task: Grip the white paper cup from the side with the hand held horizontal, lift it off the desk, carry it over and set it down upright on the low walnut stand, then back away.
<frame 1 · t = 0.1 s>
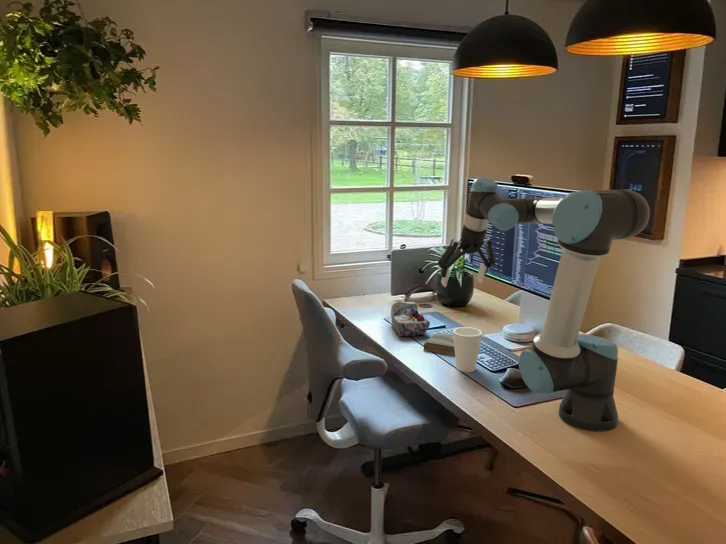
hand: (461, 283, 192), 28 cm above the table, fingers open, 13 cm apart
stand: (446, 347, 211), on the table
foam cup: (465, 369, 192), on the table
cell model: (407, 331, 229), on the table
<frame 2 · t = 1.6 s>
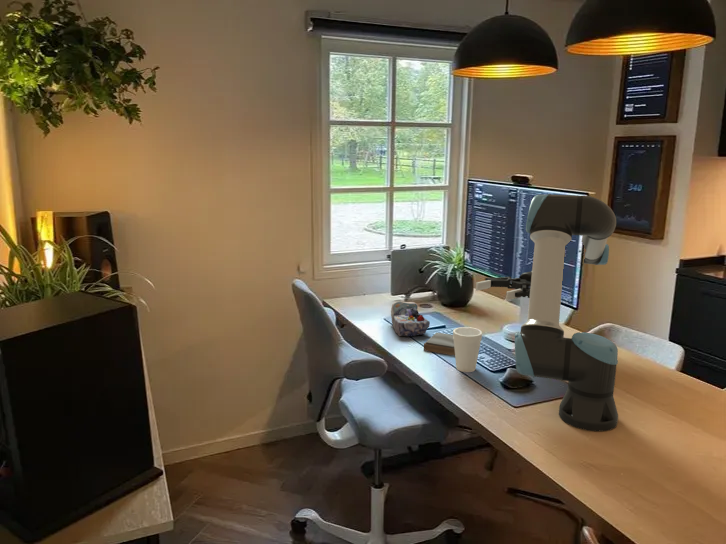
hand: (491, 291, 192), 25 cm above the table, fingers open, 13 cm apart
nothing on the table moved.
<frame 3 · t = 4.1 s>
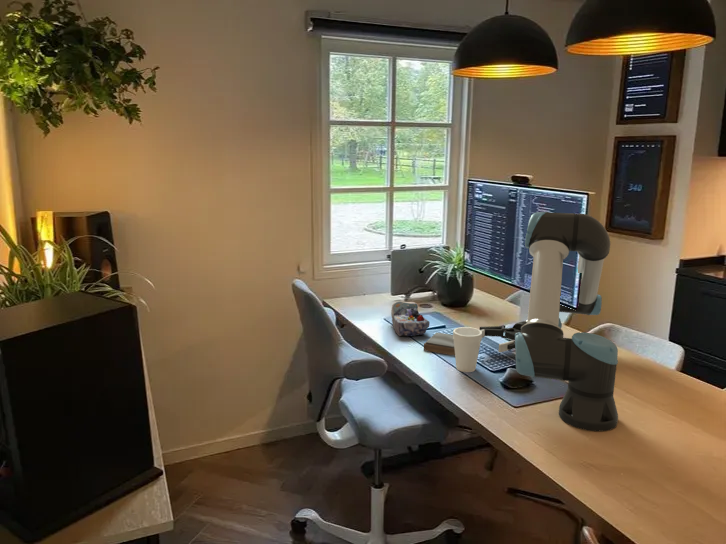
hand: (484, 342, 195), 7 cm above the table, fingers open, 13 cm apart
nothing on the table moved.
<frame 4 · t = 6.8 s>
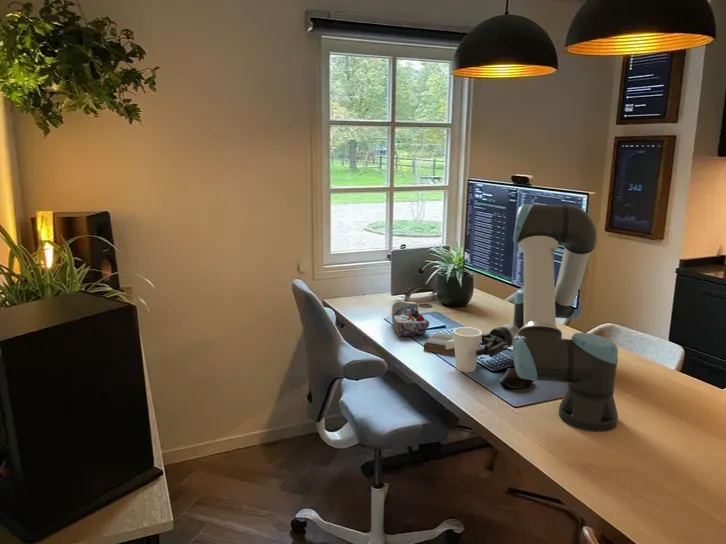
hand: (456, 349, 188), 8 cm above the table, fingers closed on foam cup, 9 cm apart
foam cup: (465, 368, 192), on the table, touching gripper
everything else where it was.
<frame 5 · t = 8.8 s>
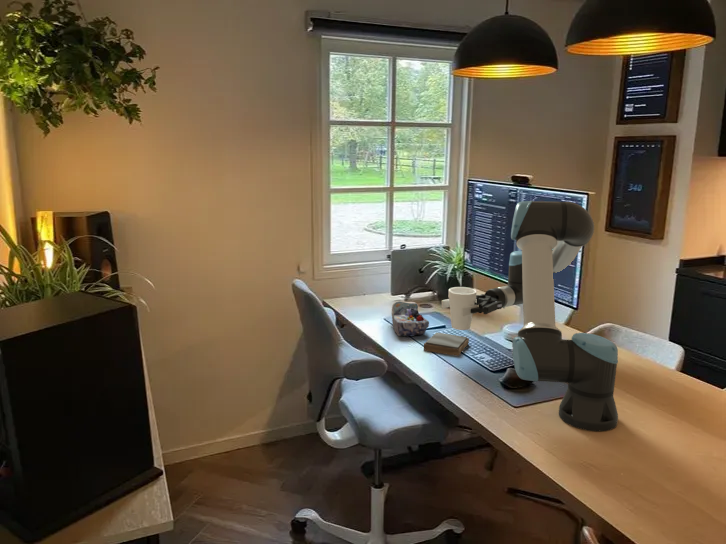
hand: (452, 308, 194), 19 cm above the table, fingers closed on foam cup, 9 cm apart
foam cup: (460, 327, 198), point 11 cm above the table, touching gripper
everything else where it was.
when the fingers open (12 cm above the table, at t = 11.2 s): foam cup drops 1 cm, resting on stand.
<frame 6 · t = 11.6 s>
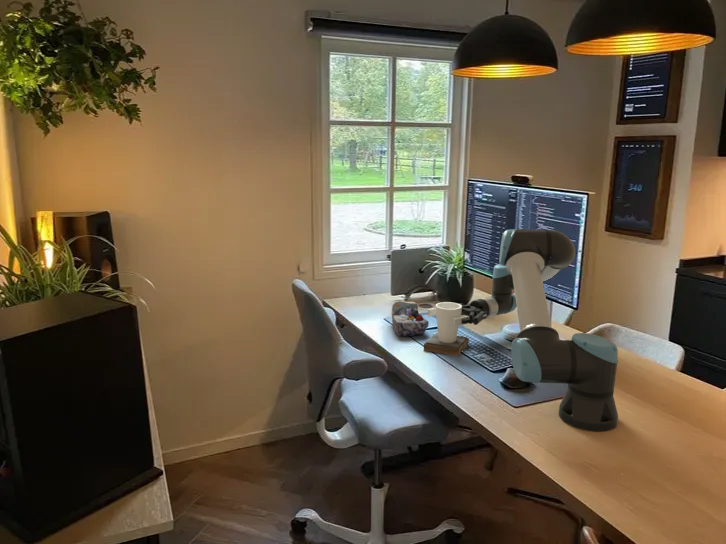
hand: (440, 317, 207), 12 cm above the table, fingers open, 13 cm apart
foam cup: (447, 340, 210), point 3 cm above the table, touching stand
everything else where it was.
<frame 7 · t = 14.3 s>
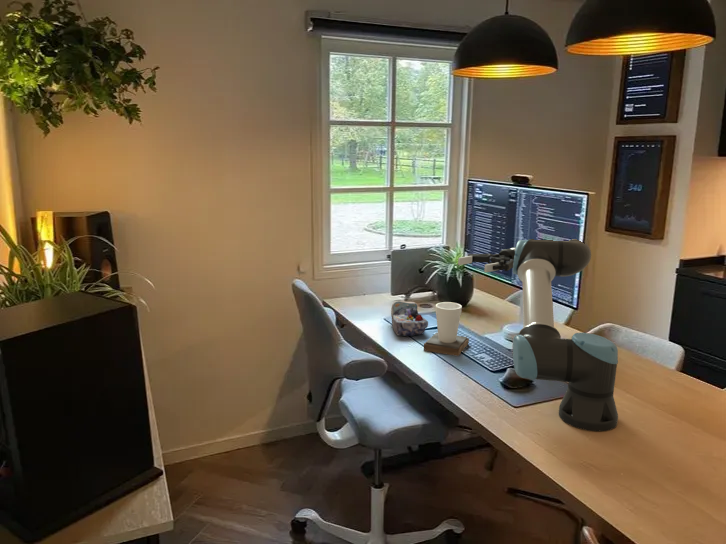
hand: (471, 264, 210), 30 cm above the table, fingers open, 13 cm apart
nothing on the table moved.
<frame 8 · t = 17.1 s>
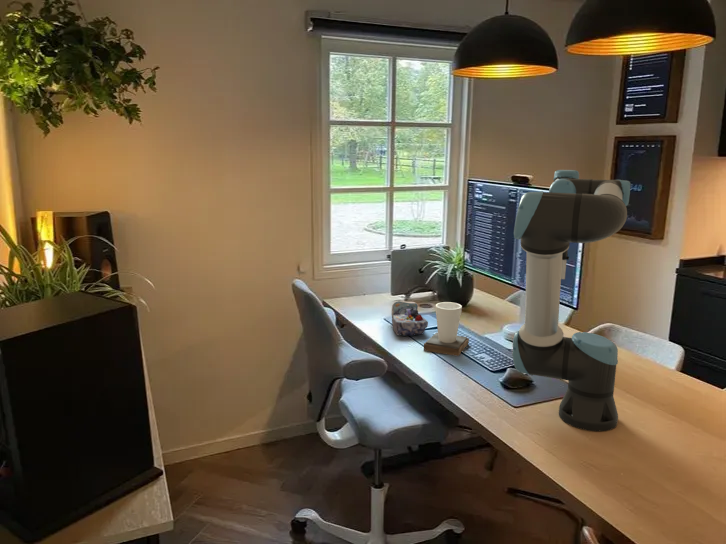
hand: (557, 283, 189), 29 cm above the table, fingers open, 13 cm apart
nothing on the table moved.
at the end: foam cup inside the target area on the stand (0.2 cm from its centre), point 2.8 cm above the stand's base; foam cup tilted 0°; the gripper is holding nothing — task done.
